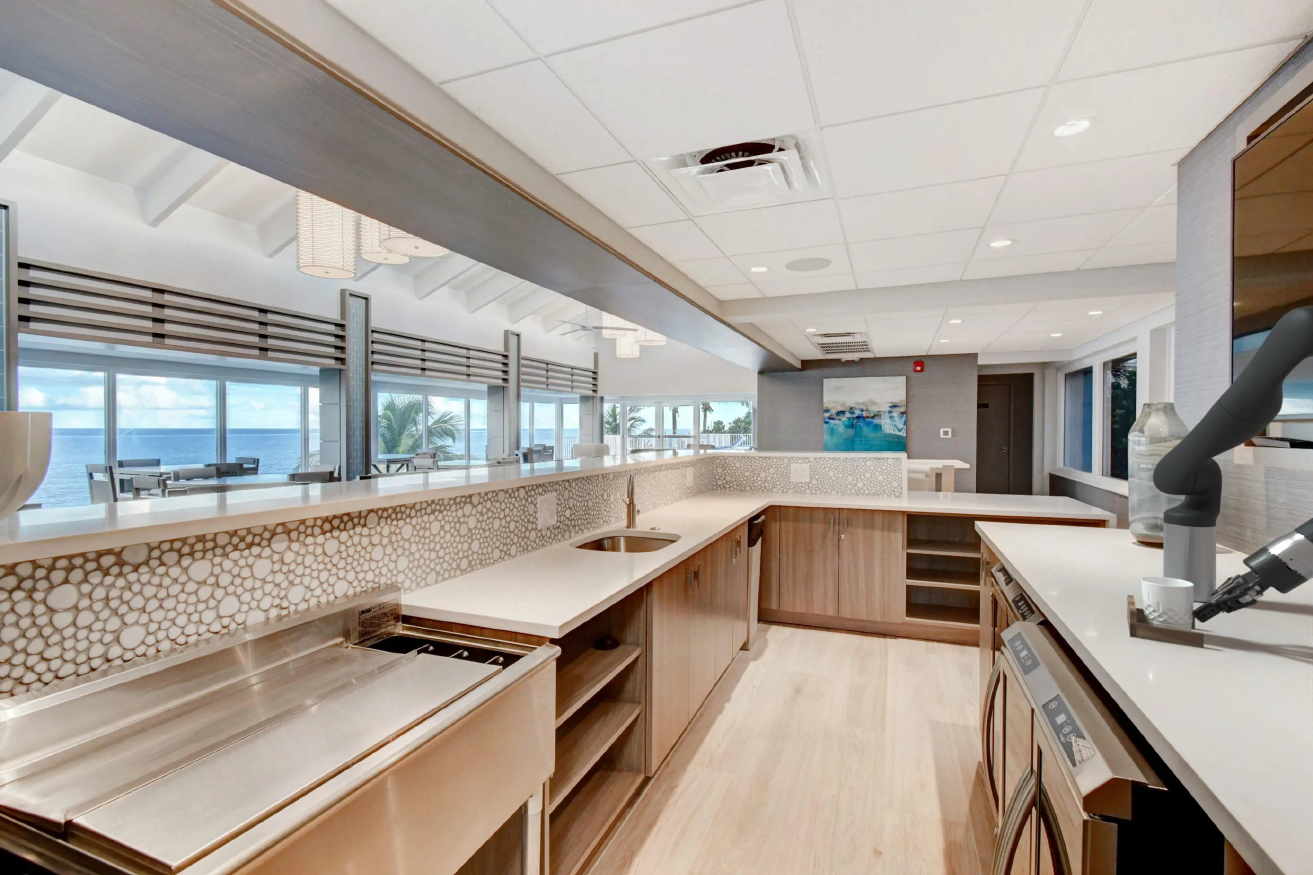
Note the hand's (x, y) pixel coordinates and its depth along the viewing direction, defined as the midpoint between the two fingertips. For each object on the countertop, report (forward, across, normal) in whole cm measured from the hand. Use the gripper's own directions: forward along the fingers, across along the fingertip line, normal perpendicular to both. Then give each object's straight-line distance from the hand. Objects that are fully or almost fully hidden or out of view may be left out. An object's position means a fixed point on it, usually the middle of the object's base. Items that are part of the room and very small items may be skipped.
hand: (1196, 617), depth 112 cm
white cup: (+6, 0, 0) cm, 6 cm away
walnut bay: (+6, 0, 0) cm, 6 cm away
